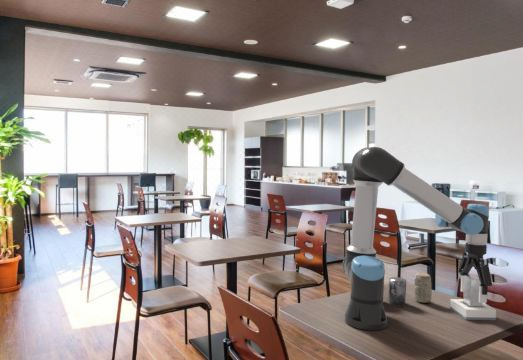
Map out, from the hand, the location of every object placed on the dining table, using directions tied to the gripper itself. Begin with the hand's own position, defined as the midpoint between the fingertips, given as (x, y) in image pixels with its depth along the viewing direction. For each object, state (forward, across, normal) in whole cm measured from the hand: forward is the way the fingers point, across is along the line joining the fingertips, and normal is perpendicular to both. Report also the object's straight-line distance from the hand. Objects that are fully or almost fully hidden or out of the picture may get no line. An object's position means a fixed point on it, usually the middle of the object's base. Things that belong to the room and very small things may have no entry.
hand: (472, 296), depth 165 cm
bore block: (+7, 0, 0) cm, 7 cm away
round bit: (+7, +12, +26) cm, 29 cm away
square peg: (+6, 0, 0) cm, 6 cm away
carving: (+7, +14, +14) cm, 21 cm away
